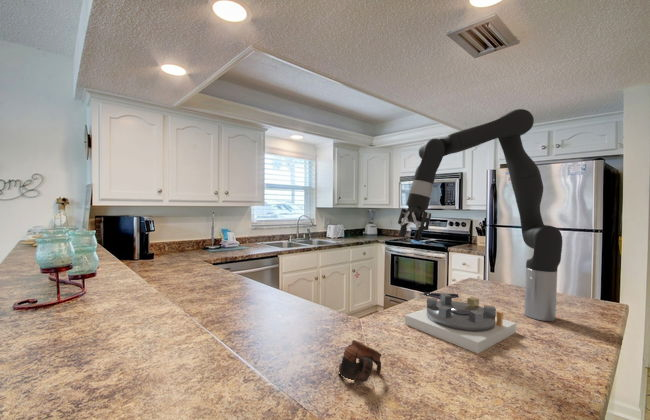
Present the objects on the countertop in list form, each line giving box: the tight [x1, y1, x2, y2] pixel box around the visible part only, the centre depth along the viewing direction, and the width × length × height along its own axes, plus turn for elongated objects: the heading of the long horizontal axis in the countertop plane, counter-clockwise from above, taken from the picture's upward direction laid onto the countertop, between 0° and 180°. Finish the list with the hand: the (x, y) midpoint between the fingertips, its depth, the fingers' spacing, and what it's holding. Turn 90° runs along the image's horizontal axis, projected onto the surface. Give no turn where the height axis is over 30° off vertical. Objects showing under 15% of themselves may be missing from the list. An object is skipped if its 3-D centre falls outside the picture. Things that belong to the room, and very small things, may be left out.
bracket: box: [422, 292, 459, 300], centre depth 127 cm, size 14×15×3 cm
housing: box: [404, 307, 517, 354], centre depth 98 cm, size 24×24×7 cm
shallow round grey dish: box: [426, 293, 497, 331], centre depth 98 cm, size 20×20×5 cm
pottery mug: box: [338, 339, 382, 383], centre depth 69 cm, size 12×10×8 cm
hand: (408, 238), depth 109 cm, fingers open, 8 cm apart
